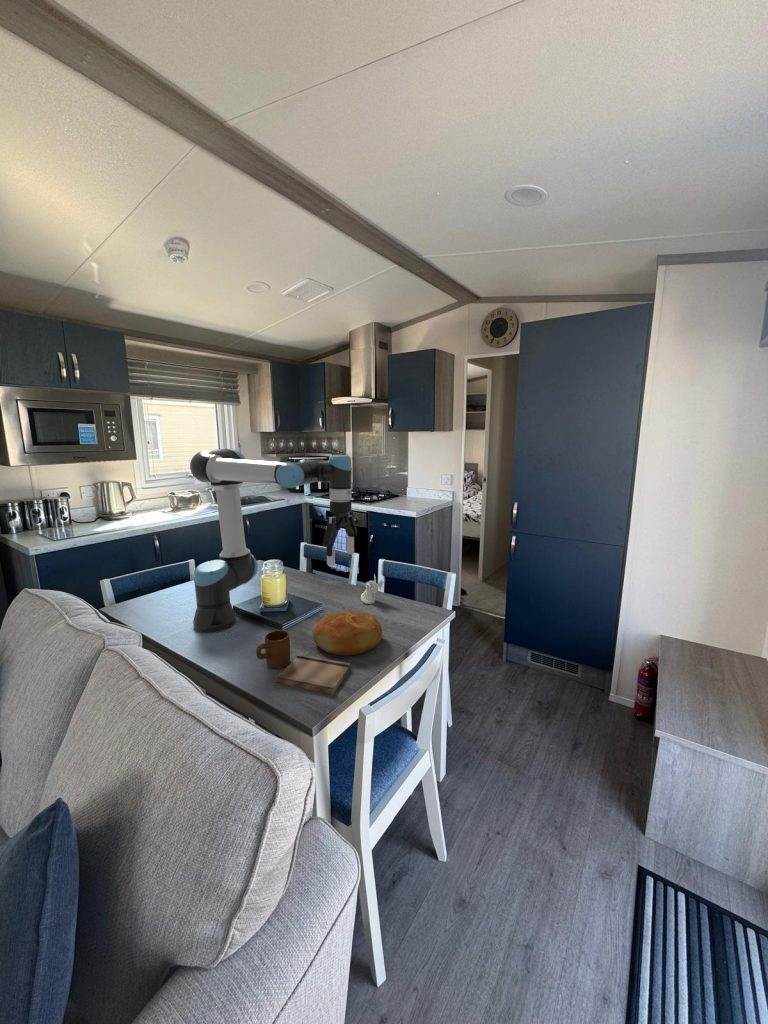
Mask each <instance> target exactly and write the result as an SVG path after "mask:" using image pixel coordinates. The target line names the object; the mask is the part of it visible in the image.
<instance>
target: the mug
mask: <svg viewBox="0 0 768 1024" xmlns="http://www.w3.org/2000/svg"><path fill="white" fill-rule="evenodd" d="M263 649H264V651H265V652H262V650H263ZM255 657H256V658H258V660H265V664H266V666H267V667H269V668H271V669H276V670H277V669H278V670H279V669H283V668H286V667H288V665H289V664H290V663H291V639H290V633H289V632H288V631H286V630H280V629H279V630H278V629H277V630H273V631H270V632H267V633H266V635H265V637H264V642H263V643H260V644H259V645H258V646H257V647H256V649H255Z"/></svg>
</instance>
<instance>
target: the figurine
mask: <svg viewBox="0 0 768 1024" xmlns="http://www.w3.org/2000/svg"><path fill="white" fill-rule="evenodd" d="M373 577H374V580H369V581H366V582H365V588H366V589H365V590H364V592H362V593H361V595H360V600H361V601H362V602H363V604H365V605H373V604H374V603H376V602H375V597H376V593H377V592H379V591H378V590H379V589H380V590H381V588H382V587H383V584H385V581H386V580H384V581H383V579H381V580H380V581H379V582H378V583H377V578H376V575H375V573H374V574H373Z"/></svg>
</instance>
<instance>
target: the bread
mask: <svg viewBox="0 0 768 1024" xmlns="http://www.w3.org/2000/svg"><path fill="white" fill-rule="evenodd" d="M382 637H383V629H382V626H381V624H380V622H379V620H378V619H377V618H376V617H375V616H374V615H371V614H370V613H366V612H362V611H356V610H355V611H354V610H352V611H338V612H334V613H331V614H328V615H325V616H324V617H322V618H321V619H320V620H318V622H317V623H316V625H315V626H314V628H313V631H312V638H313V641H314V643H315V644H316V645H317V646H318V648H320V649H321V650H322V651H325V652H327V653H329V654H332V655H336V656H356V655H360V654H363V653H366V652H368V651H371V650H372V649H374V648H375V647H376V646H377V645H379V643H380V642H381V641H382Z"/></svg>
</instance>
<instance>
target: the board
mask: <svg viewBox="0 0 768 1024" xmlns="http://www.w3.org/2000/svg"><path fill="white" fill-rule="evenodd" d="M350 671H351V663H350V662H344V661H338V660H333V659H328V658H324V657H317V656H311V655H308V654H301V653H298V654H296V657H295V658H294V659H293V660H292V661H290V663H289V664H288V665H287V666H286V667H285V669H283V671H281V673H280V674H277V675H276V676H275V678H276V680H275V681H276V683H277V684H281V685H286V686H292V687H295V688H299V689H305V690H310V691H315V692H320V693H324V694H328V695H334V694H335V692H336V691H337V690H338V688H339V686H340V685H341V684H342V682H343V681H344V679H345V678H346V677H347V675H348V674H349V672H350Z"/></svg>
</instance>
